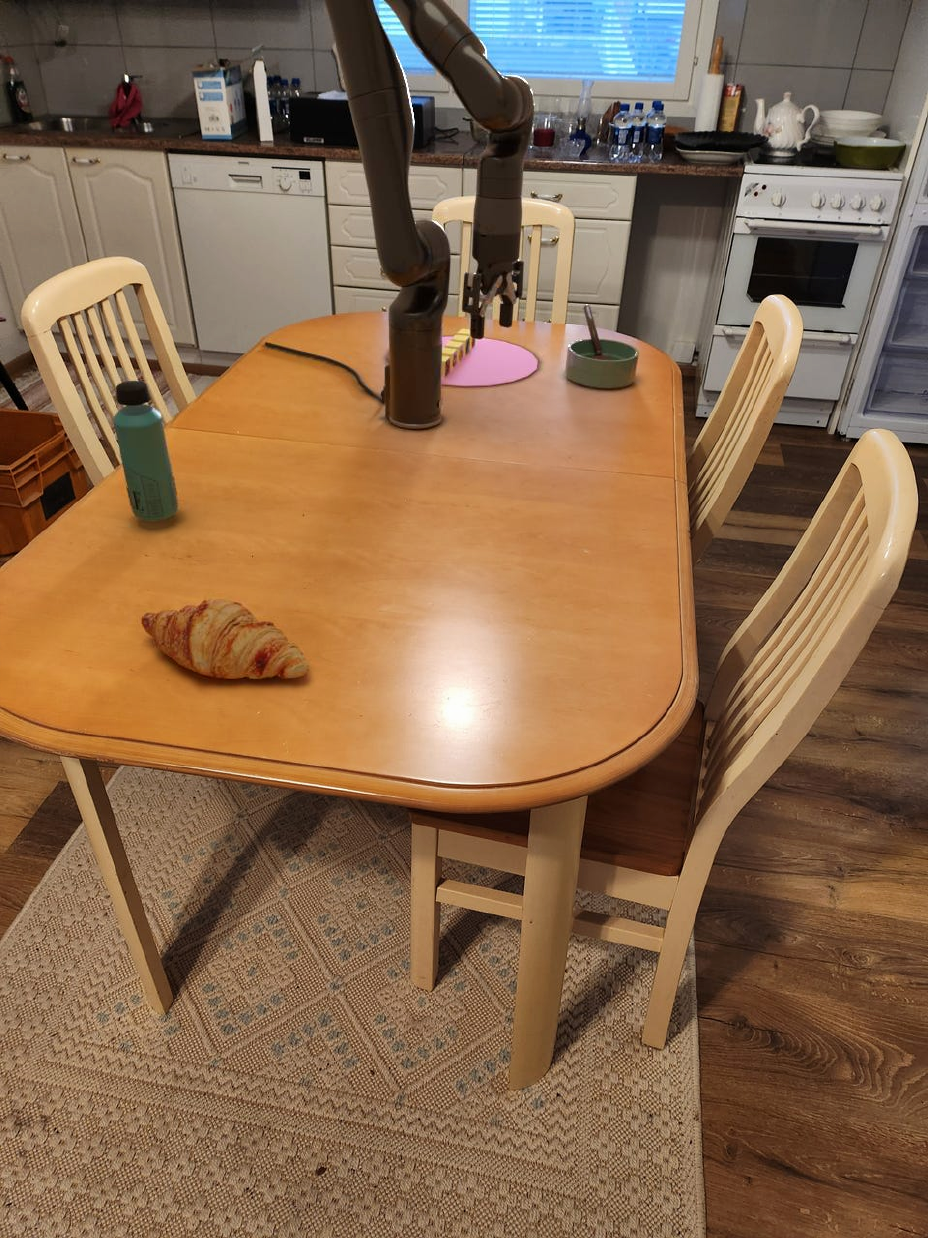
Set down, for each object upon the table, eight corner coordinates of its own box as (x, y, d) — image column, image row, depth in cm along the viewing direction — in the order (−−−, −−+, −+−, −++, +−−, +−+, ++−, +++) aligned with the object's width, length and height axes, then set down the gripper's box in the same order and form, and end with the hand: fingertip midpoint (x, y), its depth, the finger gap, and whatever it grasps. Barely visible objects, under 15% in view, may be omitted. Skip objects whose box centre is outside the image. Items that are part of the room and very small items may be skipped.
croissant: (322, 688, 100) (335, 621, 98) (282, 705, 90) (295, 630, 89) (163, 644, 104) (173, 580, 103) (108, 655, 95) (119, 584, 94)
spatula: (615, 381, 176) (622, 328, 170) (596, 382, 175) (603, 328, 169) (589, 353, 190) (595, 303, 184) (571, 354, 189) (577, 303, 183)
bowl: (552, 379, 177) (555, 350, 174) (585, 362, 187) (588, 334, 184) (615, 396, 171) (619, 366, 167) (645, 377, 181) (650, 348, 177)
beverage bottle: (190, 514, 125) (168, 379, 114) (162, 535, 120) (137, 396, 109) (151, 506, 127) (126, 372, 115) (123, 526, 122) (93, 388, 110)
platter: (365, 374, 176) (365, 357, 174) (416, 330, 201) (416, 315, 199) (519, 395, 169) (520, 378, 167) (551, 347, 195) (553, 331, 193)
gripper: (501, 217, 141) (496, 318, 150) (450, 229, 131) (447, 337, 141) (541, 224, 138) (532, 327, 147) (491, 237, 128) (486, 347, 137)
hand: (491, 332), depth 144 cm, fingers open, 8 cm apart
